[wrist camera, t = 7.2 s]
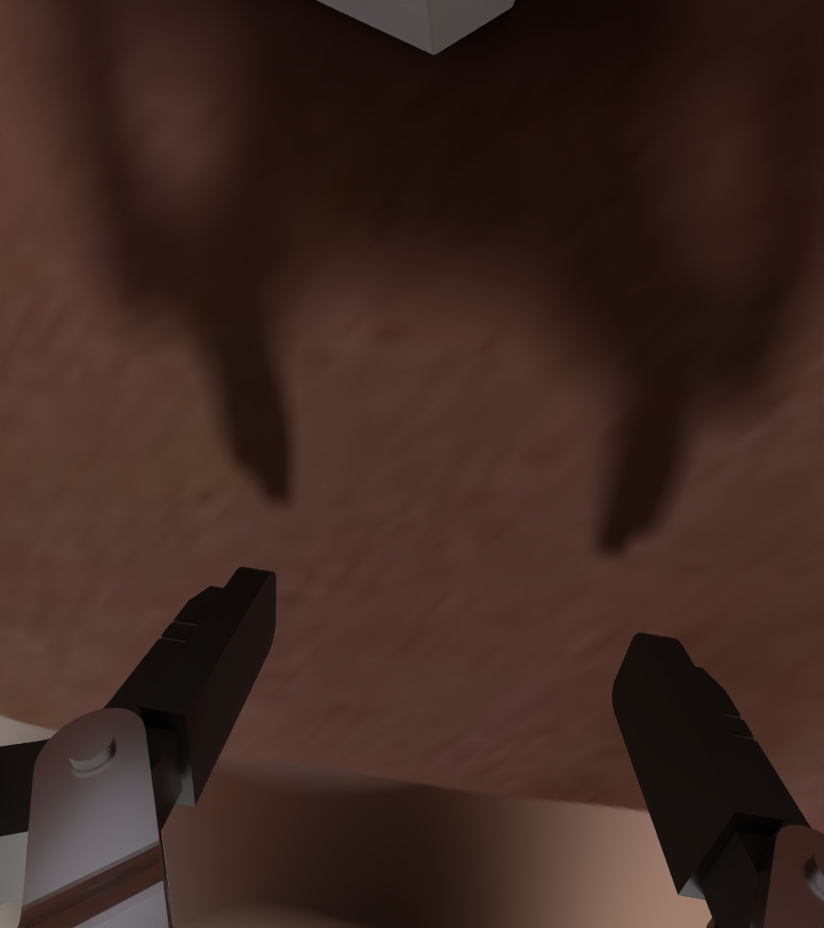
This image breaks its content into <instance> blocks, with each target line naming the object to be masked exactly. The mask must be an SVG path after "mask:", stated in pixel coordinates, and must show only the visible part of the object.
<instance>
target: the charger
mask: <svg viewBox="0 0 824 928" xmlns="http://www.w3.org/2000/svg"><path fill="white" fill-rule="evenodd" d="M317 1H319V2H321V3H323V4H325V5H327V6H329V7H332V8H334V9H336V10H338V11H340V12H342V13H344V14H347V15H349V16H351V17H353V18H355V19H357V20H359V21H362V22H364V23H366V24H368V25H370V26H372V27H374V28H377V29H379V30H381V31H383V32H385V33H387V34H389V35H392V36H394V37H396V38H398V39H400V40H402V41H404V42H407V43H409V44H411V45H413V46H415V47H417V48H419V49H422V50H424V51H426V52H428V53H430V54H432V55H436V54H437V53H439V52H440V51H442V50H444V49H445V48H447V47H449V46H450V45H452V44H453V43H455V42H457V41H458V40H460V39H462V38H463V37H465V36H466V35H468V34H470V33H471V32H473V31H474V30H476V29H478V28H479V27H481V26H483V25H484V24H486V23H487V22H489V21H491V20H492V19H494V18H495V17H497V16H499V15H500V14H502V13H504V12H505V11H507V10H508V9H510V8H512V6H513V4H514V2H515V0H317Z"/></svg>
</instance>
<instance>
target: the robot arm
mask: <svg viewBox="0 0 824 928" xmlns="http://www.w3.org/2000/svg"><path fill="white" fill-rule="evenodd" d="M275 625H276V575H275V573H274V572H272V571H265V570H259V569H253V568H247V567H240V568H238V569H237V570H236V572H235V573H234V575H233V576H232V577H231V579H230V580H229V582H228V583H227V584H226V586H225V587H224V588H219V587H213V586H210V587H209V588H207V589H206V590H204V591H202V592H201V593H199V594H198V595H196V596H195V597H193V598H192V599H190V600H189V601H188V602H187V603H186V605H185V606H184V607H183V609H182V610H181V611H180V612H179V614H178V615H177V616H176V617H175V619H174V622H173V623H171V624H170V625H169V626H168V628H167V629H166V630H165V631H164V633H163V634H162V637H161V639H158V640H157V642H156V643H155V644H154V645H153V647H152V648H151V649H150V651H149V652H148V653H147V654H146V656H145V657H144V658H143V659H142V661H141V662H140V663H139V665H138V666H137V667H136V668H135V670H134V671H133V672H132V673H131V675H130V676H129V677H128V679H127V680H126V681H125V682H124V684H123V685H122V686H121V687H120V689H119V690H118V691H117V693H116V694H115V695H114V696H113V698H112V699H111V700H110V701H109V703H108V704H107V705H106V706H105V707H104V708H103V709H100V710H97V711H93V712H90V713H88V714H85V715H83V716H81V717H79V718H77V719H75V720H73V721H71V722H70V723H68V724H67V725H65V726H64V727H63V728H61V729H60V730H59V731H58V732H56V734H54V735H53V736H52V737H51V738H50V739H47V740H42V741H37V742H30V743H22V744H15V745H7V746H1V747H0V904H4V903H8V902H13V901H17V900H21V899H23V902H22V911H21V918H20V923H19V926H18V928H174V925H173V917H172V909H171V902H170V894H169V886H168V878H167V871H166V863H165V855H164V847H163V839H162V832H161V830H162V828H163V827H164V825H165V823H166V821H167V819H168V817H169V815H170V813H171V811H172V809H173V807H174V805H175V803H177V804H183V805H188V806H196V804H197V802H198V800H199V797H200V795H201V793H202V791H203V789H204V787H205V785H206V783H207V781H208V778H209V777H210V774H211V772H212V770H213V768H214V766H215V764H216V762H217V760H218V758H219V756H220V754H221V751H222V749H223V747H224V745H225V743H226V741H227V739H228V737H229V735H230V733H231V731H232V728H233V726H234V724H235V722H236V720H237V718H238V716H239V714H240V712H241V710H242V707H243V705H244V703H245V701H246V699H247V697H248V695H249V693H250V691H251V689H252V687H253V684H254V682H255V680H256V678H257V676H258V674H259V672H260V670H261V668H262V666H263V664H264V661H265V659H266V657H267V655H268V653H269V651H270V648H271V645H272V641H273V637H274V633H275ZM612 702H613V709H614V713H615V716H616V719H617V722H618V724H619V727H620V730H621V733H622V736H623V739H624V742H625V744H626V747H627V750H628V753H629V756H630V759H631V762H632V765H633V767H634V770H635V773H636V776H637V779H638V782H639V785H640V787H641V790H642V793H643V796H644V799H645V802H646V805H647V807H648V810H649V813H650V816H651V819H652V822H653V824H654V827H655V830H656V833H657V836H658V839H659V842H660V845H661V847H662V850H663V853H664V856H665V859H666V862H667V864H668V867H669V870H670V873H671V876H672V879H673V882H674V885H675V888H676V890H677V893H678V895H681V896H686V897H692V898H698V899H703V900H706V902H707V905H708V908H709V910H710V913H711V915H712V918H711V920H710V921H709V922H708V924H707V926H706V928H824V834H823V833H821V832H819V831H817V830H814V829H812V828H811V827H810V825H809V824H808V822H807V821H806V819H805V818H804V816H803V814H802V813H801V811H800V810H799V808H798V806H797V805H796V803H795V802H794V800H793V798H792V797H791V795H790V794H789V792H788V790H787V789H786V787H785V785H784V784H783V782H782V781H781V779H780V777H779V776H778V774H777V773H776V771H775V769H774V768H773V766H772V765H771V763H770V761H769V760H768V758H767V757H766V755H765V753H764V752H763V750H762V749H761V747H760V745H759V744H758V742H757V741H754V739H753V734H752V733H751V731H750V729H749V728H748V726H747V725H746V723H745V721H744V720H741V719H740V713H739V712H738V710H737V709H736V707H735V705H734V704H733V702H732V701H731V699H730V697H729V696H728V694H727V693H726V691H725V690H724V689H723V688H722V687H721V686H720V685H719V684H718V683H717V682H716V681H715V680H714V679H713V678H712V677H711V676H710V675H709V674H708V673H707V672H706V671H705V670H704V669H703V668H699V667H695V666H694V664H693V663H692V661H691V659H690V658H689V656H688V654H687V652H686V651H685V649H684V647H683V646H682V644H681V643H680V642H679V641H678V640H677V639H675V638H670V637H664V636H658V635H652V634H646V633H637V634H636V635H635V636H634V637H633V639H632V641H631V644H630V646H629V648H628V651H627V653H626V655H625V658H624V660H623V662H622V665H621V667H620V669H619V672H618V674H617V676H616V679H615V681H614V685H613V690H612Z"/></svg>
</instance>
